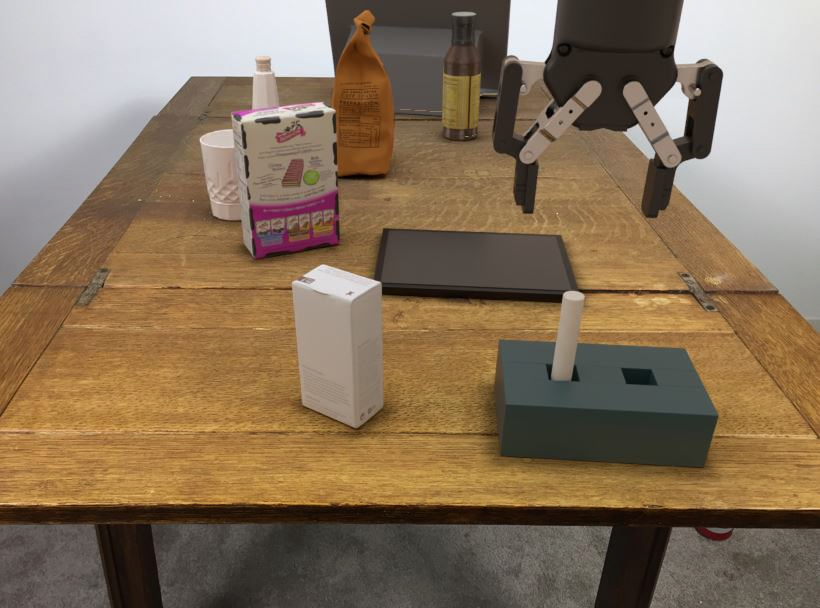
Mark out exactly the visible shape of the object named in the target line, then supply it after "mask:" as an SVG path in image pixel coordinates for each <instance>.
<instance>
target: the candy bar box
mask: <svg viewBox="0 0 820 608" xmlns="http://www.w3.org/2000/svg"><path fill="white" fill-rule="evenodd" d="M230 116H231V117H230V118H231V127H232V128H231V129H233V138H234V148H235V158H236V168H237V179H238V190H239V199H240V210H241V220H240V221H241V227H242V237H243V245H244V246H245V248H246V250H247V251H249V253H250V255H251V256H252V257H253V259H254V260H258V259H264V258H269V257H275V256H280V255H286V254H287V255H288V254H291V253H297V252H303V251H308V250H313V249H317V248H318V249H319V248H324V247H329V246H334V245H335V246H336V245H338V244H340V243H341V233H340V232H341V227H340V226H341V225H340V200H339V199H340V198H339V197H340V196H339V176H338V164H337V135H336V110H334V109H332V108H331V106H330V105H328V104H327V103H325V102H324V101H315V102H305V103H296V104H287V105H280V106H278V107H270V108H262V109H253V110H252V109H247V110H237V111H231V112H230Z"/></svg>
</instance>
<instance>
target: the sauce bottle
mask: <svg viewBox="0 0 820 608" xmlns="http://www.w3.org/2000/svg"><path fill="white" fill-rule="evenodd" d="M476 22H477V21H476V13H473V12H456V13H452V15H451V23H452V38H451V44H452V45H451V46H450V48H449V50H448V51H447V53H446V55H445V58H444V68H443V108H442V116H441V125H442V135H443V137H444V138H445V139H448V140H451V141H458V142H459V141H470V140H472V139H474V138H476V137H477V136H478V126H479V124H480V123H479V119H480V99H481V97H480V79H481V72H480V64H481V58H480V54H479V52H478V50H477V48H476V47H475V24H476ZM475 134H476V135H475ZM472 135H473V136H472ZM465 136H469V137H465Z"/></svg>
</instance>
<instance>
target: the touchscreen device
mask: <svg viewBox="0 0 820 608" xmlns="http://www.w3.org/2000/svg"><path fill="white" fill-rule="evenodd" d="M324 3H325V10H326V18H327V27H328V33H329V40H330V41H329V42H330V49H331V55H332V64H333V74H334V77H335V76H336V70H337V65H338V63H339V60H340V57H341V55H342V53H343V51H344V49H345V48H346V46H347V45H348V43H349V42H350V40H351V38H352V37H353V35H354V34H355V32H356V30H357V27H356V25H355V23H354V18H356V17H357V16H359V15H360V14H362V13H363V12H364V11H366V10H369V11H370V13H371V14H372V15H373V16H374V17H375V21H374V23H373V24H372V25H371V29H372V32H371V33H370V34H369V37H370V41H371V44H372V48H373V49H374V50H375V52H376V53H377V55H378V56H379V58H380V59H381V61H382V63H383V65H384V67H385V69H386V71H387V74H388V77H389V80H390V83H391V89H392V97H393V106H394V114H401V115H402V114H403V115H404V114H405V115H415V116H416V115H417V116H418V115H419V116H430V117H431V116H433V117H442V112H430V111H442V108H443V68H444V58H445V55H446V53H447V51H448V50H449V48H450V46H451V45H452V44H451V38H452V23H451V15H452V13H456V12H473V13H476V21H477V22H476V24H475V47H476V48H477V50H478V52H479V54H480V58H481V64H480V72H481V79H480V94H483V93H498V87H499V80H500V73H501V66H502V61H503V59H504V58H505V57H507V56H508V51H509V49H508V48H509V38H510V37H509V36H510V22H511V21H510V19H511V5H512V0H324ZM480 98H490V99H497V95H482V96H480ZM400 109H411V110H400ZM415 110H426V111H415Z"/></svg>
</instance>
